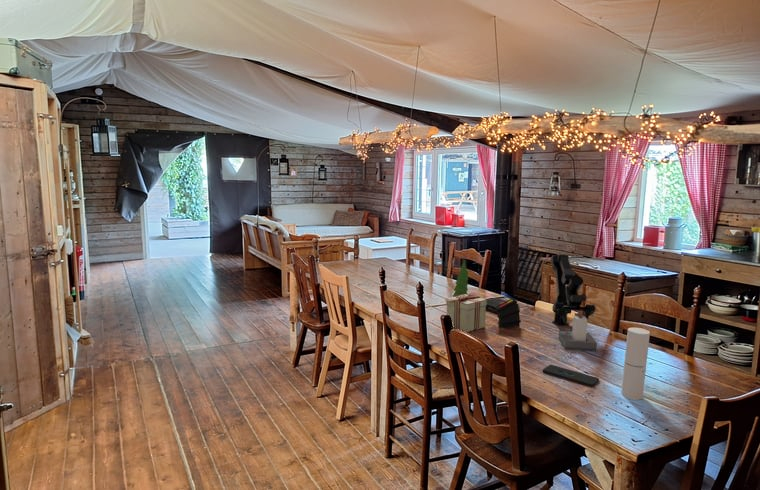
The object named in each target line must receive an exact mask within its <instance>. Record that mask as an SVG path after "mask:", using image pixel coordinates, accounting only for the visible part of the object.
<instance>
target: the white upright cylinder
mask: <svg viewBox="0 0 760 490" xmlns="http://www.w3.org/2000/svg"><path fill="white" fill-rule="evenodd" d="M572 318H573V320H572V330H571V332H572V340H576V341H586V333H587V329H588V328H587V327H588V322H587V318H586V317H585V316H584V313H583V314H582V313H578V315H573V317H572Z"/></svg>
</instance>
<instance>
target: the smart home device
mask: <svg viewBox="0 0 760 490" xmlns="http://www.w3.org/2000/svg"><path fill="white" fill-rule="evenodd" d="M542 373H543V374H547V375H550V376H553V377H556V378H560V379H563V380H567V381H570V382H573V383H576V384H579V385H583V386H585V387H591V388H594V386H596V385H597V384H598V383H599V382H600V378H598V377H596V376H592V375H590V374H586V373H582V372H578V371H574V370H571V369H569V368H568V369H567V368H564V367H562V366H557V365H554V364H549V365H547V366H546V367H544V368H543V369H542Z"/></svg>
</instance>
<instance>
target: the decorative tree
mask: <svg viewBox="0 0 760 490" xmlns="http://www.w3.org/2000/svg"><path fill="white" fill-rule="evenodd" d="M468 281H469V273H468V269H467V264H466V259H464V260H463V262H462V265H461V268H460V270H459V272H458V275H457V279H456V281H455V283H454V284H455V287H454V289H453V291H454V293H453V295H452V297H455V296H458V295H464V294H466V295H469V294H468V290H469V288H468V286H469V284H468Z"/></svg>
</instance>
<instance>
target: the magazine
mask: <svg viewBox="0 0 760 490" xmlns="http://www.w3.org/2000/svg"><path fill="white" fill-rule="evenodd" d="M517 304H518V301H517V300H516V298H514V297H512V298H509V299H508V300H506V302H504V303H502V304H500V305H498V306H497V307H495V308H496V309H495V311H497V313H498V314H497V318H498V321H497V324H498V327H499V328H501V329H507V328H520V327H521V325H520V323H521V322H522V320H521V319H520V317H521V315H520V312H521V310H520V308H519V309H518V305H517Z"/></svg>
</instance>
